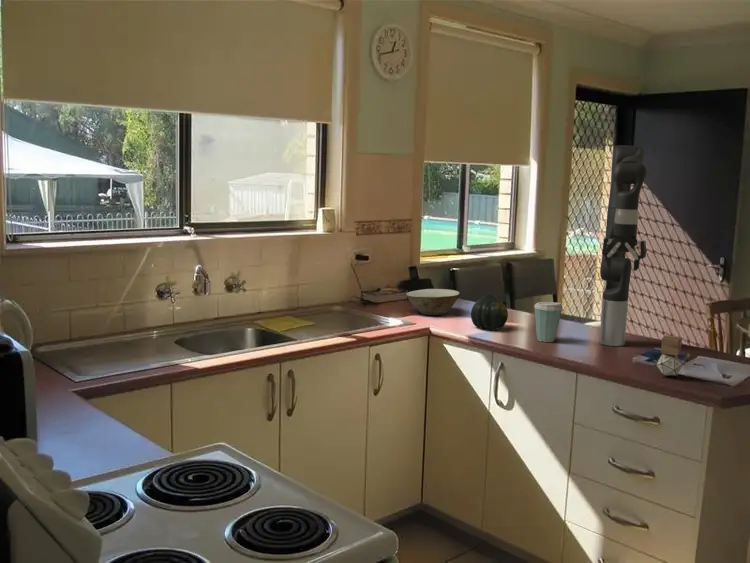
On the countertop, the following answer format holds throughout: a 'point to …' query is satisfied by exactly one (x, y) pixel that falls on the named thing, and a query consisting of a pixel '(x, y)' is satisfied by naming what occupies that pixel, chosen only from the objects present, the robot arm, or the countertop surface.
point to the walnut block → (671, 345)
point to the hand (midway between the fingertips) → (622, 269)
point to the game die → (669, 365)
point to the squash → (489, 313)
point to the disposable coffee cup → (547, 320)
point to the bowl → (433, 300)
